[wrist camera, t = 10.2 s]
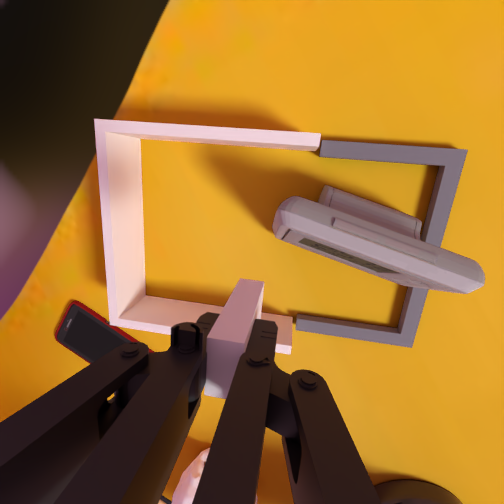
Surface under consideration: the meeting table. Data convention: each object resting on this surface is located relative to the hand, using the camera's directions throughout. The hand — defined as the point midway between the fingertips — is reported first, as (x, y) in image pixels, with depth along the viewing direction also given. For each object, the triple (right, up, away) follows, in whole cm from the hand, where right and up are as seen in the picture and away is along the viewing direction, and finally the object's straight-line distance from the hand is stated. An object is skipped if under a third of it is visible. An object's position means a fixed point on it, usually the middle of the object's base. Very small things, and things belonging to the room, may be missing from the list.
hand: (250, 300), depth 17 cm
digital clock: (+11, +5, +14) cm, 18 cm away
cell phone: (-20, -10, +23) cm, 33 cm away
